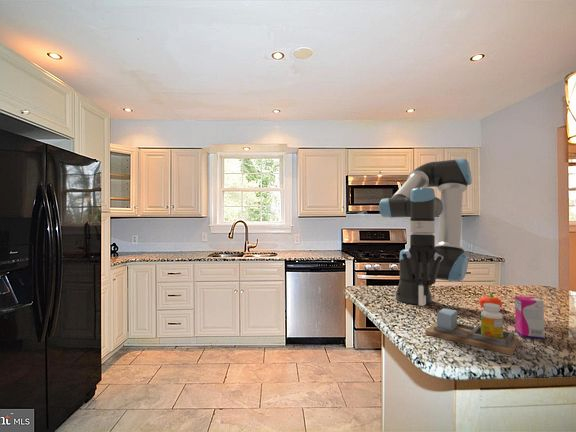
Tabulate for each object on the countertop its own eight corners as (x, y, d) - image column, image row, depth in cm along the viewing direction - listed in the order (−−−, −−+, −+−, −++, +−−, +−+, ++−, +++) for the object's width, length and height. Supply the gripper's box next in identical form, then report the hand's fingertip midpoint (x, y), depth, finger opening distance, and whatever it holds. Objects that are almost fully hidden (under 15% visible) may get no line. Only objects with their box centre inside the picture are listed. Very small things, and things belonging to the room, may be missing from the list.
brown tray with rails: (425, 334, 95) (425, 325, 96) (438, 324, 105) (438, 316, 105) (512, 355, 81) (512, 344, 81) (518, 341, 90) (518, 331, 90)
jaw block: (437, 328, 96) (436, 312, 96) (443, 323, 101) (443, 308, 101) (451, 332, 93) (450, 315, 93) (457, 326, 99) (456, 310, 99)
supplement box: (536, 332, 97) (536, 296, 97) (545, 339, 92) (544, 301, 92) (514, 330, 99) (514, 295, 99) (521, 337, 93) (521, 299, 94)
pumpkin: (476, 307, 127) (475, 291, 128) (497, 309, 126) (496, 292, 126) (483, 310, 120) (482, 293, 121) (506, 311, 119) (505, 294, 120)
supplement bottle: (476, 335, 92) (476, 302, 92) (493, 334, 92) (493, 302, 92) (490, 342, 86) (489, 307, 87) (507, 341, 87) (507, 307, 87)
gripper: (398, 233, 104) (398, 303, 104) (439, 234, 96) (439, 310, 95) (407, 233, 110) (407, 299, 109) (446, 234, 101) (446, 306, 100)
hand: (422, 304), depth 102 cm, fingers closed
